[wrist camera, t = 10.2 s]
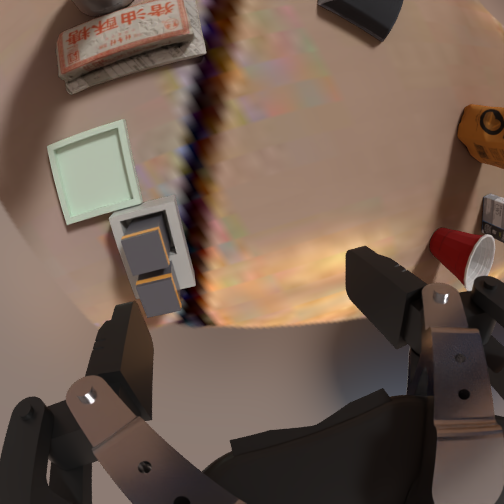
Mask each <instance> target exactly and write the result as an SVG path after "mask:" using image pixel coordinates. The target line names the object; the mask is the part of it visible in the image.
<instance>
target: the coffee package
mask: <svg viewBox="0 0 504 504" xmlns="http://www.w3.org/2000/svg"><path fill="white" fill-rule="evenodd" d="M458 128H459V129H458V138H459V140H461V141H462V142H463V143H464V144H465V145H466V146H467V148H468V151H469V153H470V154H471V156H473V157H474V158H475V159H476V160H478V161H479V162H480V163H485V164H489V165H493V166H496V167H499V168H502V169H504V108H501V107H488V106H481V105H473V104H470V105H468V106H466V107H465V109H464V115H463V116H462V120H461V123H459V126H458Z"/></svg>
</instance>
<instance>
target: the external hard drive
mask: <svg viewBox="0 0 504 504" xmlns="http://www.w3.org/2000/svg"><path fill="white" fill-rule="evenodd" d="M402 4H403V0H318V5H320V6H322V7H324V8H326V9H328V10H330V11H332V12H333V13H335V14H337V15H339V16H341V17H342V18H344V19H346V20H348V21H349V22H351V23H353V24H354V25H356V26H358V27H360V28H361V29H363V30H364V31H366V32H368V33H369V34H371V35H372V36H374V37H375V38H377V39H378V40H380V41H381V42H383V41H384V40H385V38H386V37H387V35H388V34H389V32H390V31H391V29H392V27H393V25H394V24H395V22H396V19H397V17H398V15H399V12H400V10H401V7H402Z"/></svg>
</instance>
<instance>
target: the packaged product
mask: <svg viewBox="0 0 504 504" xmlns="http://www.w3.org/2000/svg"><path fill="white" fill-rule="evenodd" d="M56 45H57V48H56V50H55V51H56V55H57V60H58V64H57V66H58V77H59V78H61V80H63V79H64V81H65V85H66V91H67V93H69V94H70V95H72V94H75V93H77V92H80V91H82V90H84V89H87V88H89V87H91V86H94V85H97V84H101V83H104V82H107V81H110V80H114V79H116V78H119V77H123V76H126V75H129V74H133V73H136V72H140V71H144V70H147V69H151V68H154V67H158V66H162V65H166V64H170V63H174V62H178V61H182V60H186V59H191V58H195V57H199V56H202V55H205V54H206V49H205V43H204V39H203V34H202V30H201V24H200V19H199V15H198V10H197V6H196V2H195V0H153V1H149V2H145V3H141V4H138V5H134V6H131V7H127V8H124V9H120V10H118V11H115V12H112V13H109V14H106V15H103V16H100V17H98V18H95V19H92V20H90V21H87V22H85V23H82V24H79V25H77V26H75V27H72V28H70V29H68V30H65V31H63V32H62V33H60V34H59V37H58V41H57V43H56Z"/></svg>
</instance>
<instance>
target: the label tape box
mask: <svg viewBox="0 0 504 504" xmlns="http://www.w3.org/2000/svg"><path fill="white" fill-rule="evenodd" d="M482 233H484V234H489V235H492V236H493V238H495V239H497V240H499V241H501V242H503V243H504V198H502V197H499V196H496V195H493V194H489V195H487V196H484V204H483V221H482Z"/></svg>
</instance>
